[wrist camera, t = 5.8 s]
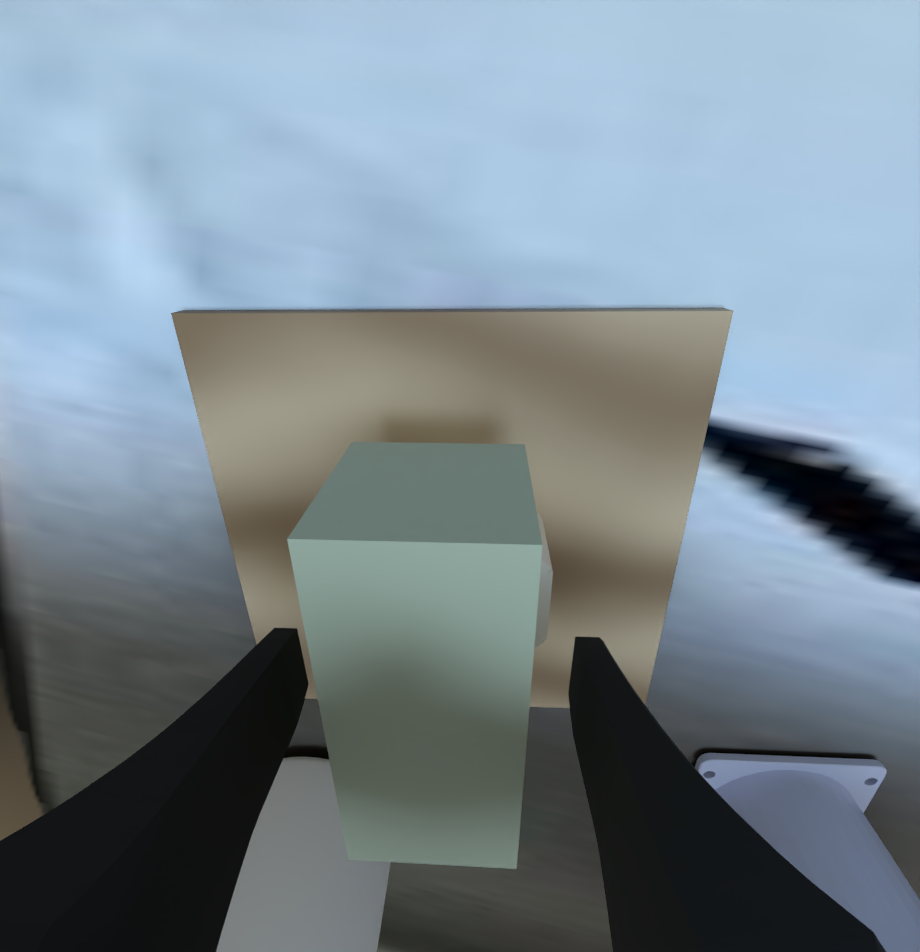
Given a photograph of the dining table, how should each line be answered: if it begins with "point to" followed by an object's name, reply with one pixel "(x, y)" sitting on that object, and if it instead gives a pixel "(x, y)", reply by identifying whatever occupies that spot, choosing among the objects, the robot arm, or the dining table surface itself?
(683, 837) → the robot arm
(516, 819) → the green rectangular block
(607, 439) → the mat
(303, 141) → the dining table surface
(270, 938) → the beverage can
